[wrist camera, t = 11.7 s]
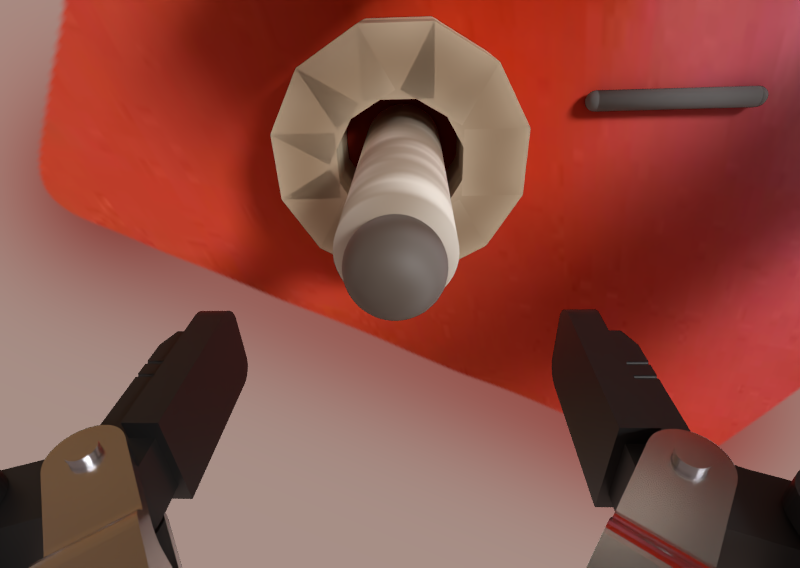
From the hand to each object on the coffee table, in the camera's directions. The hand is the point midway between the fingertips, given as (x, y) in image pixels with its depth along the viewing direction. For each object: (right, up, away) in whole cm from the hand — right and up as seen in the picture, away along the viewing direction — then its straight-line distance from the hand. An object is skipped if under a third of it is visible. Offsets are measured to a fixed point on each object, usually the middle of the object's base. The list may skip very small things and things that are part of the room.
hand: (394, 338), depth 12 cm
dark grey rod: (+14, +11, +13) cm, 22 cm away
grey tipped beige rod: (0, +9, +14) cm, 17 cm away
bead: (0, +9, +14) cm, 17 cm away
